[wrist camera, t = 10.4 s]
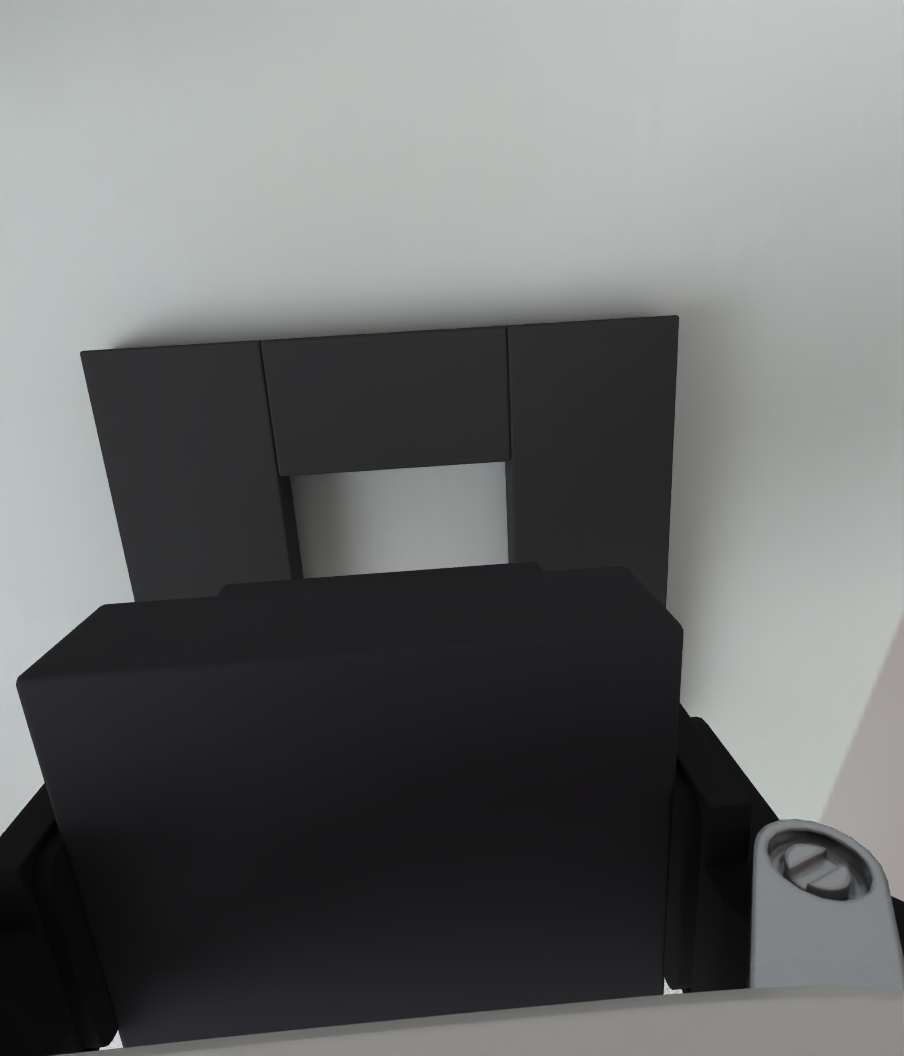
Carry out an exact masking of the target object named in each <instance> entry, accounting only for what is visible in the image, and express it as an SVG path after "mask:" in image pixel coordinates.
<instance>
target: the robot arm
mask: <svg viewBox="0 0 904 1056" xmlns="http://www.w3.org/2000/svg"><path fill="white" fill-rule="evenodd" d="M663 975H664V977H665V980H666V982H667V984H668V986H669V987H670V989H672V990H677V989H682V991H683V993H682V994H668V995H655V996H642V997H631V998H621V999H610V1000H599V1001H589V1002H578V1003H567V1004H557V1005H546V1006H535V1007H525V1008H514V1009H504V1010H493V1011H482V1012H472V1013H461V1014H450V1015H440V1016H430V1017H420V1018H410V1019H400V1020H390V1021H380V1022H370V1023H360V1024H350V1025H340V1026H330V1027H320V1028H310V1029H300V1030H290V1031H280V1032H270V1033H261V1034H251V1035H241V1036H231V1037H221V1038H211V1039H202V1040H193V1041H183V1042H174V1043H164V1044H155V1045H146V1046H136V1047H127V1048H118V1049H108V1050H99V1049H100V1047H106V1046H108V1045H109V1044H110V1043H111V1042H112V1040H113V1039H114V1037H115V1035H116V1033H117V1030H118V1028H119V1027H118V1024H117V1020H116V1017H115V1014H114V1010H113V1007H112V1003H111V1000H110V997H109V993H108V990H107V986H106V983H105V980H104V976H103V973H102V970H101V966H100V963H99V959H98V956H97V953H96V949H95V946H94V942H93V939H92V936H91V932H90V929H89V926H88V922H87V919H86V915H85V912H84V909H83V905H82V902H81V899H80V895H79V892H78V888H77V885H76V882H75V878H74V875H73V871H72V868H71V865H70V861H69V858H68V855H67V851H66V848H65V844H64V842H62V839H61V835H60V832H59V829H58V825H57V822H56V819H55V815H54V812H53V808H52V805H51V802H50V798H49V795H48V792H47V788H46V785H45V783H44V784H43V786H42V787H41V788H40V789H39V791H38V792H37V793H36V794H35V795H34V797H33V798H32V799H31V800H30V801H29V803H28V804H27V805H26V806H25V807H24V809H23V810H22V811H21V812H20V813H19V815H18V816H17V817H16V818H15V819H14V821H13V822H12V823H11V824H10V826H9V827H8V828H7V829H6V830H5V832H4V833H3V834H2V835H1V836H0V1056H904V902H903V901H901V900H899V899H897V898H894V897H892V896H891V895H890V890H889V885H888V880H887V878H886V876H885V873H884V871H883V869H882V866H881V865H880V863H879V862H878V861H877V860H876V859H875V858H874V856H873V855H872V854H871V853H870V851H869V850H867V849H866V848H865V847H863V846H862V845H861V844H859V843H858V842H857V841H856V840H854V839H853V838H851V837H849V836H847V835H846V834H844V833H842V832H840V831H838V830H836V829H834V828H831V827H828V826H825V825H822V824H819V823H816V822H812V821H805V820H799V819H790V820H779V819H778V817H777V816H776V815H775V813H774V812H773V811H772V809H771V808H770V807H769V805H768V804H767V803H766V801H765V800H764V799H763V797H762V796H761V795H760V793H759V792H758V791H757V789H756V788H755V787H754V785H753V784H752V783H751V781H750V780H749V779H748V777H747V776H746V775H745V773H744V772H743V771H742V769H741V768H740V767H739V765H738V764H737V763H736V761H735V760H734V759H733V757H732V756H731V755H730V753H729V752H728V751H727V749H726V748H725V747H724V745H723V744H722V743H721V741H720V740H719V739H718V737H717V736H716V735H715V733H714V732H713V731H712V729H711V728H710V727H709V725H708V724H707V723H706V722H705V721H704V720H703V719H702V718H699V717H690V716H689V715H688V713H687V712H686V710H685V709H684V708H683V706H682V705H681V704H680V703H679V721H678V739H677V757H676V775H675V788H674V789H673V805H672V823H671V841H670V860H669V878H668V896H667V915H666V933H665V951H664V970H663Z"/></svg>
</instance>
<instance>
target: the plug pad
mask: <svg viewBox="0 0 904 1056" xmlns="http://www.w3.org/2000/svg"><path fill="white" fill-rule="evenodd" d="M682 649H683V628H682V626H681V624H680V623H679V622H678V621H677V620H676V619H675V618H674V617H673V616H672V614H671V613H670V612H669V611H668V610H667V609H666V608H665V607H664V606H663V605H662V604H661V603H660V601H659V600H658V599H657V598H656V597H655V596H654V595H653V594H652V593H651V592H650V591H649V589H648V588H647V587H646V586H645V585H644V584H643V583H642V582H641V581H640V580H639V579H638V578H637V576H636V575H635V574H634V573H633V572H632V571H631V570H630V569H629V568H628V567H626V566H614V567H601V568H587V569H574V570H560V571H547V572H543V571H542V569H541V567H540V565H539V563H538V562H523V563H509V564H496V565H482V566H469V567H455V568H442V569H428V570H415V571H401V572H388V573H374V574H361V575H347V576H334V577H320V578H306V579H293V580H279V581H266V582H252V583H239V584H226V585H224V587H223V588H222V589H221V591H220V592H219V593H218V595H217V596H212V597H199V598H185V599H172V600H159V601H145V602H132V603H118V604H105V605H103V606H101V607H99V608H98V609H97V610H96V611H95V612H93V613H92V614H91V615H90V616H89V617H88V618H86V619H85V620H84V621H83V622H82V623H81V624H79V625H78V626H77V627H76V628H75V629H74V630H72V631H71V632H70V633H69V634H68V635H67V636H65V637H64V638H63V639H62V640H61V641H60V642H58V643H57V644H56V645H55V646H54V647H53V648H51V649H50V650H49V651H48V652H47V653H46V654H44V655H43V656H42V657H41V658H40V659H39V660H37V661H36V662H35V663H34V664H33V665H32V666H30V667H29V668H28V669H27V670H26V671H25V672H23V673H22V674H21V675H20V676H19V677H18V678H17V681H16V687H17V690H18V694H19V697H20V701H21V704H22V707H23V711H24V714H25V717H26V721H27V724H28V728H29V731H30V734H31V738H32V741H33V744H34V748H35V751H36V755H37V758H38V761H39V765H40V768H41V771H42V775H43V778H44V782H45V785H46V788H47V792H48V795H49V798H50V802H51V805H52V808H53V812H54V815H55V819H56V822H57V825H58V829H59V832H60V835H61V839H62V842H64V844H65V848H66V851H67V855H68V858H69V861H70V865H71V868H72V871H73V875H74V878H75V882H76V885H77V888H78V892H79V895H80V899H81V902H82V905H83V909H84V912H85V915H86V919H87V922H88V926H89V929H90V932H91V936H92V939H93V942H94V946H95V949H96V953H97V956H98V959H99V963H100V966H101V970H102V973H103V976H104V980H105V983H106V986H107V990H108V993H109V997H110V1000H111V1003H112V1007H113V1010H114V1014H115V1017H116V1020H117V1024H118V1027H119V1028H118V1031H119V1034H120V1038H121V1041H122V1045H123V1048H127V1047H136V1046H146V1045H155V1044H164V1043H174V1042H183V1041H193V1040H202V1039H211V1038H221V1037H231V1036H241V1035H251V1034H261V1033H270V1032H280V1031H290V1030H300V1029H310V1028H320V1027H330V1026H340V1025H350V1024H360V1023H370V1022H380V1021H390V1020H400V1019H410V1018H420V1017H430V1016H440V1015H450V1014H461V1013H472V1012H482V1011H493V1010H504V1009H514V1008H525V1007H535V1006H546V1005H557V1004H567V1003H578V1002H589V1001H599V1000H610V999H621V998H631V997H642V996H655V995H663V993H664V975H663V970H664V951H665V933H666V915H667V896H668V878H669V860H670V841H671V823H672V805H673V789H674V788H675V775H676V757H677V739H678V721H679V703H680V685H681V667H682Z"/></svg>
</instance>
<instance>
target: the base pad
mask: <svg viewBox="0 0 904 1056" xmlns="http://www.w3.org/2000/svg"><path fill="white" fill-rule="evenodd" d="M678 330H679V316H677V315H672V316H656V317H639V318H622V319H606V320H589V321H572V322H556V323H539V324H523V325H508V326H490V327H473V328H456V329H440V330H423V331H406V332H390V333H373V334H357V335H340V336H323V337H307V338H290V339H273V340H257V341H240V342H223V343H207V344H190V345H174V346H157V347H140V348H124V349H107V350H90V351H82V352H80V356H81V361H82V365H83V370H84V374H85V379H86V383H87V388H88V392H89V397H90V401H91V406H92V410H93V415H94V419H95V424H96V428H97V433H98V437H99V442H100V446H101V451H102V455H103V460H104V464H105V469H106V473H107V478H108V482H109V487H110V491H111V496H112V500H113V505H114V509H115V514H116V518H117V523H118V527H119V532H120V536H121V541H122V545H123V550H124V554H125V559H126V563H127V568H128V572H129V577H130V582H131V586H132V591H133V595H134V600H135V602H145V601H159V600H172V599H185V598H199V597H212V596H217V595H218V593H219V592H220V591H221V589H222V588H223V587H224V585H226V584H239V583H252V582H266V581H279V580H293V579H303V572H302V565H301V557H300V550H299V543H298V535H297V528H296V520H295V513H294V506H293V498H292V491H291V484H290V476H296V475H311V474H326V473H340V472H355V471H370V470H385V469H399V468H414V467H429V466H444V465H459V464H473V463H488V462H503V461H505V469H506V499H507V528H508V558H509V563H523V562H538V563H539V565H540V567H541V569H542V571H543V572H547V571H560V570H574V569H587V568H601V567H614V566H626V567H628V568H629V569H630V570H631V571H632V572H633V573H634V574H635V575H636V576H637V578H638V579H639V580H640V581H641V582H642V583H643V584H644V585H645V586H646V587H647V588H648V589H649V591H650V592H651V593H652V594H653V595H654V596H655V597H656V598H657V599H658V600H659V601H660V603H661V604H662V605H663V606H664V607H665V608H666V598H667V575H668V553H669V531H670V508H671V486H672V464H673V441H674V419H675V397H676V374H677V352H678Z"/></svg>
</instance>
